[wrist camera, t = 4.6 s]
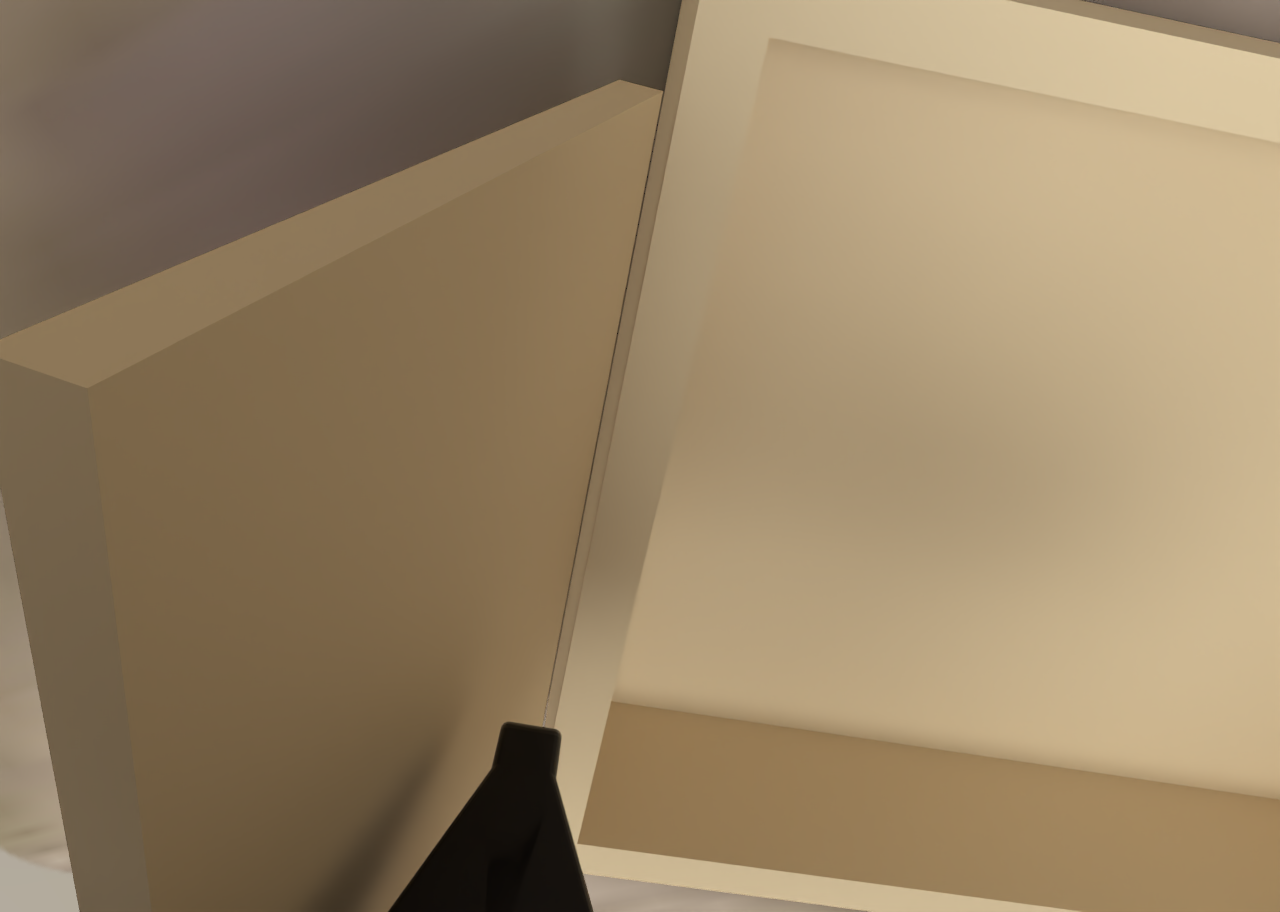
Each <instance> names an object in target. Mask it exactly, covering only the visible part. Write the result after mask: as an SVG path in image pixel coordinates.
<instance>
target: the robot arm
mask: <svg viewBox="0 0 1280 912" xmlns="http://www.w3.org/2000/svg"><path fill="white" fill-rule="evenodd" d="M561 739H562V735H561V733H560V731H559V730H557V729H553V728H547V727H540V726H534V725H528V724H522V723H516V722H510V721H509V722H505V723H504V724H503V725H502V726H501V729H500V733H499V737H498V742H497V746H496V750H495V755H494V759H493V764H492V768H491V770H490V771H489V772H488V774H487V775H486V776H485V778H484V779H483V781H482V782H481V783H480V785H479V786H478V788H477V789H476V790H475V792H474V793H473V794H472V796H471V797H470V799H469V800H468V801H467V803H466V804H465V806H464V807H463V808H462V810H461V811H460V812H459V814H458V815H457V817H456V818H455V819H454V821H453V822H452V823H451V825H450V826H449V828H448V829H447V830H446V832H445V833H444V835H443V836H442V837H441V839H440V840H439V841H438V843H437V844H436V846H435V847H434V848H433V850H432V851H431V853H430V854H429V855H428V857H427V858H426V859H425V861H424V862H423V864H422V865H421V866H420V868H419V869H418V871H417V872H416V873H415V875H414V876H413V877H412V879H411V880H410V882H409V883H408V884H407V886H406V887H405V889H404V890H403V891H402V893H401V894H400V895H399V897H398V898H397V900H396V901H395V902H394V904H393V905H392V907H391V908H390V909H389V911H388V912H593V908H592V905H591V901H590V898H589V894H588V890H587V887H586V883H585V880H584V876H583V872H582V869H581V865H580V862H579V858H578V855H577V851H576V847H575V844H574V840H573V837H572V833H571V830H570V826H569V822H568V819H567V815H566V812H565V808H564V805H563V801H562V797H561V794H560V790H559V787H558V783H557V779H556V777H557V770H558V762H559V755H560V747H561Z"/></svg>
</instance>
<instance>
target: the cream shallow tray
mask: <svg viewBox="0 0 1280 912" xmlns="http://www.w3.org/2000/svg"><path fill="white" fill-rule="evenodd" d="M545 727H547V728H553V729H557V730H559V731H560V733H561V735H562V739H561V747H560V755H559V762H558V770H557V777H556V779H557V783H558V787H559V790H560V794H561V797H562V801H563V805H564V808H565V812H566V815H567V819H568V822H569V826H570V830H571V833H572V837H573V840H574V844H575V847H576V851H577V855H578V858H579V862H580V865H581V869H582V872H583V874H590V875H598V876H605V877H613V878H620V879H628V880H636V881H643V882H651V883H658V884H666V885H673V886H681V887H689V888H696V889H704V890H711V891H719V892H727V893H734V894H742V895H749V896H757V897H764V898H772V899H780V900H787V901H795V902H802V903H810V904H818V905H825V906H833V907H840V908H848V909H855V910H863V911H871V912H1280V43H1276V42H1272V41H1267V40H1263V39H1258V38H1253V37H1249V36H1244V35H1239V34H1235V33H1230V32H1225V31H1221V30H1216V29H1212V28H1207V27H1202V26H1198V25H1193V24H1188V23H1184V22H1179V21H1174V20H1170V19H1165V18H1161V17H1156V16H1151V15H1147V14H1142V13H1137V12H1133V11H1128V10H1123V9H1119V8H1114V7H1110V6H1105V5H1100V4H1096V3H1091V2H1086V1H1082V0H682V3H681V8H680V14H679V19H678V24H677V29H676V35H675V40H674V45H673V50H672V55H671V61H670V66H669V71H668V76H667V82H666V87H665V92H664V97H663V102H662V108H661V113H660V118H659V123H658V129H657V134H656V139H655V144H654V150H653V155H652V160H651V165H650V170H649V176H648V181H647V186H646V191H645V197H644V202H643V207H642V212H641V218H640V223H639V228H638V233H637V238H636V244H635V249H634V254H633V259H632V265H631V270H630V275H629V280H628V286H627V291H626V296H625V301H624V306H623V312H622V317H621V322H620V327H619V333H618V338H617V343H616V348H615V353H614V359H613V364H612V369H611V374H610V380H609V385H608V390H607V395H606V401H605V406H604V411H603V416H602V421H601V427H600V432H599V437H598V442H597V448H596V453H595V458H594V463H593V469H592V474H591V479H590V484H589V489H588V495H587V500H586V505H585V510H584V516H583V521H582V526H581V531H580V537H579V542H578V547H577V552H576V557H575V563H574V568H573V573H572V578H571V584H570V589H569V594H568V599H567V604H566V610H565V615H564V620H563V625H562V631H561V636H560V641H559V646H558V652H557V657H556V662H555V667H554V672H553V678H552V683H551V688H550V693H549V699H548V706H547V714H546V721H545Z"/></svg>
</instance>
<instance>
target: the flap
mask: <svg viewBox="0 0 1280 912" xmlns="http://www.w3.org/2000/svg"><path fill="white" fill-rule="evenodd" d="M662 95H663V91H661V90H657V89H653V88H649V87H645V86H641V85H638V84H634V83H630V82H626V81H622V80H617V81H615V82H613V83H610V84H608V85H605V86H603V87H601V88H598V89H596V90H594V91H591V92H589V93H586V94H584V95H582V96H579V97H577V98H574V99H572V100H570V101H567V102H565V103H563V104H560V105H558V106H555V107H553V108H551V109H548V110H546V111H543V112H541V113H539V114H536V115H534V116H532V117H529V118H527V119H524V120H522V121H520V122H517V123H515V124H512V125H510V126H508V127H505V128H503V129H501V130H498V131H496V132H493V133H491V134H489V135H486V136H484V137H481V138H479V139H477V140H474V141H472V142H469V143H467V144H465V145H462V146H460V147H458V148H455V149H453V150H450V151H448V152H446V153H443V154H441V155H438V156H436V157H434V158H431V159H429V160H427V161H424V162H422V163H419V164H417V165H415V166H412V167H410V168H407V169H405V170H403V171H400V172H398V173H396V174H393V175H391V176H388V177H386V178H384V179H381V180H379V181H376V182H374V183H372V184H369V185H367V186H365V187H362V188H360V189H357V190H355V191H353V192H350V193H348V194H345V195H343V196H341V197H338V198H336V199H334V200H331V201H329V202H326V203H324V204H322V205H319V206H317V207H314V208H312V209H310V210H307V211H305V212H303V213H300V214H298V215H295V216H293V217H291V218H288V219H286V220H283V221H281V222H279V223H276V224H274V225H272V226H269V227H267V228H264V229H262V230H260V231H257V232H255V233H252V234H250V235H248V236H245V237H243V238H241V239H238V240H236V241H233V242H231V243H229V244H226V245H224V246H221V247H219V248H217V249H214V250H212V251H210V252H207V253H205V254H202V255H200V256H198V257H195V258H193V259H190V260H188V261H186V262H183V263H181V264H179V265H176V266H174V267H171V268H169V269H167V270H164V271H162V272H159V273H157V274H155V275H152V276H150V277H148V278H145V279H143V280H140V281H138V282H136V283H133V284H131V285H128V286H126V287H124V288H121V289H119V290H117V291H114V292H112V293H109V294H107V295H105V296H102V297H100V298H97V299H95V300H93V301H90V302H88V303H86V304H83V305H81V306H78V307H76V308H74V309H71V310H69V311H66V312H64V313H62V314H59V315H57V316H55V317H52V318H50V319H47V320H45V321H43V322H40V323H38V324H35V325H33V326H31V327H28V328H26V329H24V330H21V331H19V332H16V333H14V334H12V335H9V336H7V337H4V338H2V339H0V487H1V492H2V497H3V503H4V508H5V514H6V519H7V524H8V530H9V535H10V540H11V546H12V551H13V556H14V562H15V567H16V573H17V578H18V583H19V589H20V594H21V599H22V605H23V610H24V615H25V621H26V626H27V631H28V637H29V642H30V648H31V653H32V658H33V664H34V669H35V674H36V680H37V685H38V690H39V696H40V701H41V707H42V712H43V717H44V723H45V728H46V733H47V739H48V744H49V749H50V755H51V760H52V766H53V771H54V776H55V782H56V787H57V792H58V798H59V803H60V808H61V814H62V819H63V825H64V830H65V835H66V841H67V846H68V851H69V857H70V862H71V867H72V873H73V878H74V884H75V889H76V894H77V900H78V905H79V910H80V912H388V911H389V909H390V908H391V907H392V905H393V904H394V902H395V901H396V900H397V898H398V897H399V895H400V894H401V893H402V891H403V890H404V889H405V887H406V886H407V884H408V883H409V882H410V880H411V879H412V877H413V876H414V875H415V873H416V872H417V871H418V869H419V868H420V866H421V865H422V864H423V862H424V861H425V859H426V858H427V857H428V855H429V854H430V853H431V851H432V850H433V848H434V847H435V846H436V844H437V843H438V841H439V840H440V839H441V837H442V836H443V835H444V833H445V832H446V830H447V829H448V828H449V826H450V825H451V823H452V822H453V821H454V819H455V818H456V817H457V815H458V814H459V812H460V811H461V810H462V808H463V807H464V806H465V804H466V803H467V801H468V800H469V799H470V797H471V796H472V794H473V793H474V792H475V790H476V789H477V788H478V786H479V785H480V783H481V782H482V781H483V779H484V778H485V776H486V775H487V774H488V772H489V771H490V770H491V768H492V764H493V759H494V755H495V750H496V746H497V742H498V737H499V733H500V729H501V726H502V725H503V724H504V723H505V722H509V721H510V722H516V723H522V724H528V725H534V726H540V727H542V725H543V720H544V714H545V709H546V704H547V699H548V693H549V688H550V683H551V678H552V672H553V667H554V662H555V657H556V651H557V646H558V641H559V636H560V630H561V625H562V620H563V615H564V609H565V604H566V599H567V594H568V588H569V583H570V578H571V573H572V567H573V562H574V557H575V552H576V546H577V541H578V536H579V531H580V525H581V520H582V515H583V510H584V504H585V499H586V494H587V489H588V483H589V478H590V473H591V468H592V462H593V457H594V452H595V447H596V441H597V436H598V431H599V426H600V420H601V415H602V410H603V405H604V399H605V394H606V389H607V384H608V378H609V373H610V368H611V363H612V357H613V352H614V347H615V342H616V336H617V331H618V326H619V321H620V315H621V310H622V305H623V300H624V294H625V289H626V284H627V279H628V273H629V268H630V263H631V258H632V252H633V247H634V242H635V237H636V231H637V226H638V221H639V216H640V210H641V205H642V200H643V195H644V189H645V184H646V179H647V174H648V168H649V163H650V158H651V153H652V147H653V142H654V137H655V132H656V126H657V121H658V116H659V111H660V105H661V100H662Z"/></svg>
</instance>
